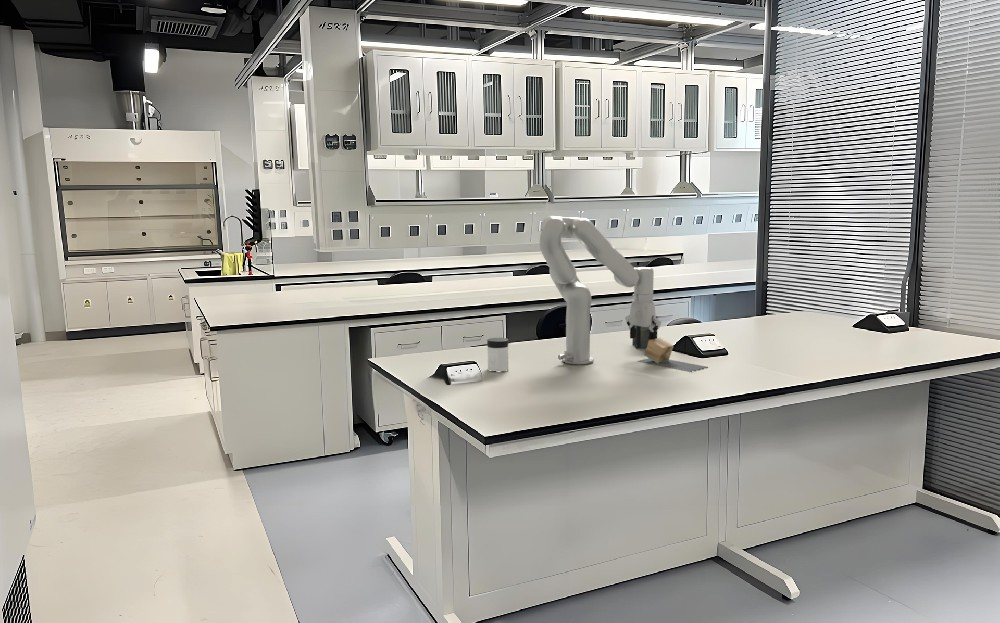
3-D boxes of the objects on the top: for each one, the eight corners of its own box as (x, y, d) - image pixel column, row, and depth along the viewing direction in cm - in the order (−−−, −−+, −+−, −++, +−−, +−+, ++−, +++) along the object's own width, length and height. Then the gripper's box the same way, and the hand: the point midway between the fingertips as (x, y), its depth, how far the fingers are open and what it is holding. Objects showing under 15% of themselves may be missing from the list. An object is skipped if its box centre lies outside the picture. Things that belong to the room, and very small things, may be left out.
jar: (482, 371, 268) (482, 340, 266) (493, 366, 275) (492, 336, 273) (503, 373, 263) (502, 342, 262) (513, 369, 270) (513, 338, 269)
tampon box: (657, 349, 304) (658, 316, 302) (636, 349, 304) (636, 316, 302) (652, 344, 315) (653, 312, 313) (632, 344, 315) (632, 312, 313)
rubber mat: (689, 372, 261) (689, 371, 260) (636, 362, 279) (636, 361, 279) (707, 367, 268) (707, 366, 268) (654, 357, 287) (654, 356, 287)
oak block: (657, 363, 275) (662, 348, 272) (644, 355, 279) (649, 340, 276) (668, 361, 279) (673, 345, 276) (655, 352, 284) (660, 337, 281)
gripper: (620, 296, 285) (619, 337, 287) (655, 300, 272) (654, 343, 274) (632, 295, 290) (631, 335, 292) (666, 299, 277) (665, 341, 279)
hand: (642, 339), depth 283 cm, fingers open, 9 cm apart
